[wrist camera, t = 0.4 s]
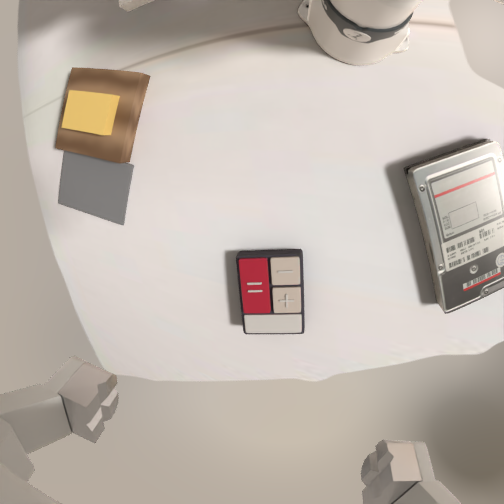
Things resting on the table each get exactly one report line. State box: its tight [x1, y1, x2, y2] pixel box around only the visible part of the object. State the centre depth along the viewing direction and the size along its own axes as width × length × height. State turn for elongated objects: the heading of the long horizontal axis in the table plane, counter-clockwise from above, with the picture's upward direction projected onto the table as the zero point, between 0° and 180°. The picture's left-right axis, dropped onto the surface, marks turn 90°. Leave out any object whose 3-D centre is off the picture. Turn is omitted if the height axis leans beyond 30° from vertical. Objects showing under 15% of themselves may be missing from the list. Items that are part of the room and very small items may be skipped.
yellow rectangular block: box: [61, 90, 120, 135], centre depth 47 cm, size 7×10×2 cm
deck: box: [55, 68, 150, 163], centre depth 50 cm, size 16×16×4 cm
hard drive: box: [404, 139, 504, 313], centre depth 47 cm, size 18×27×4 cm
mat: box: [58, 150, 134, 225], centre depth 56 cm, size 12×17×1 cm
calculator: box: [236, 249, 304, 334], centre depth 56 cm, size 11×4×15 cm
